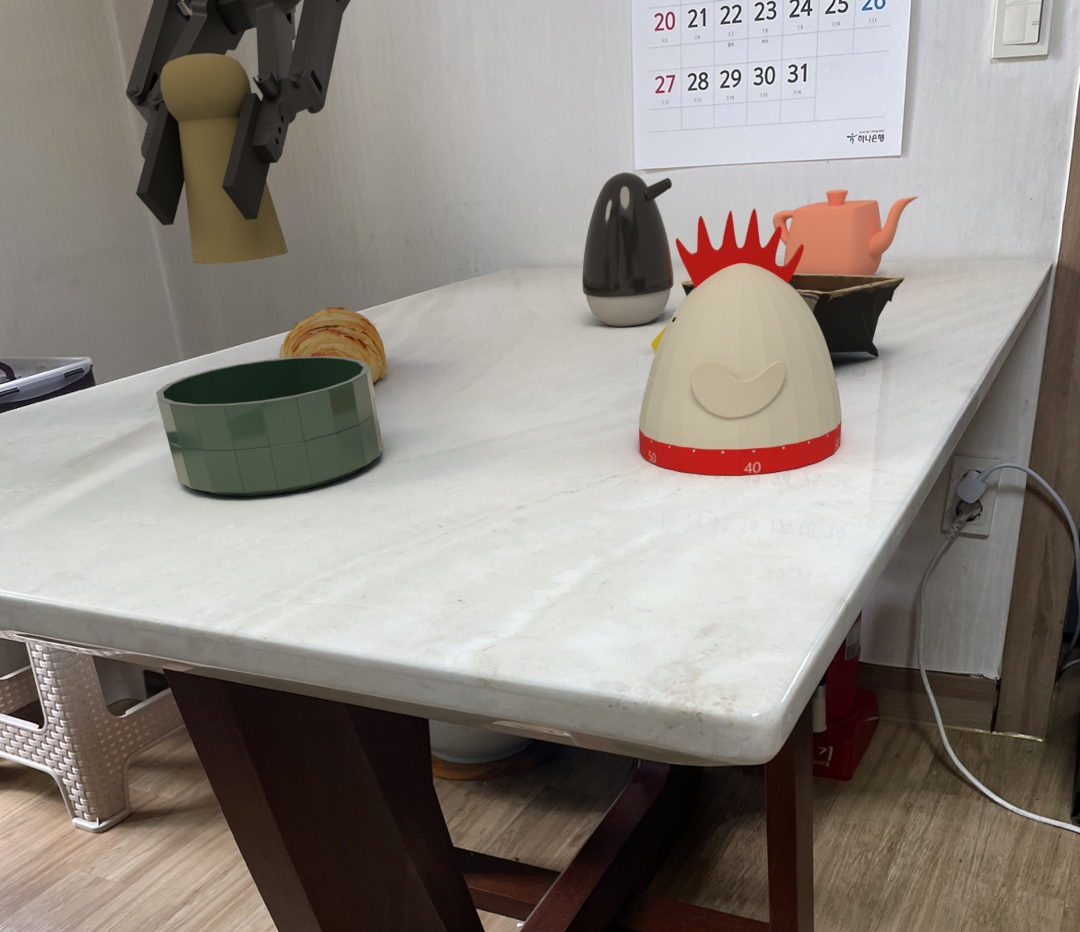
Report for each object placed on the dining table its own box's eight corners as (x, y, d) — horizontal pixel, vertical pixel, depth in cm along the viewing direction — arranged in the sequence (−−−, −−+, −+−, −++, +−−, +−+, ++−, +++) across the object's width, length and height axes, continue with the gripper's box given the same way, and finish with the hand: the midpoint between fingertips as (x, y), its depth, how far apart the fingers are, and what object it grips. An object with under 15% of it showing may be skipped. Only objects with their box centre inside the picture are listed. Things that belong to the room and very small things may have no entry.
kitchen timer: (647, 422, 81) (641, 208, 73) (831, 415, 78) (844, 192, 71) (632, 478, 69) (623, 229, 61) (847, 472, 66) (866, 212, 59)
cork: (173, 264, 66) (125, 60, 61) (244, 250, 71) (205, 59, 65) (237, 263, 63) (192, 49, 58) (307, 249, 67) (272, 48, 62)
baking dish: (776, 360, 105) (762, 254, 100) (930, 350, 91) (921, 227, 86) (671, 400, 98) (652, 289, 94) (819, 397, 84) (804, 266, 80)
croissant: (372, 439, 96) (401, 355, 93) (264, 398, 93) (291, 310, 90) (370, 385, 114) (395, 314, 111) (280, 349, 111) (302, 275, 108)
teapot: (788, 274, 140) (791, 188, 135) (924, 275, 131) (933, 182, 125) (752, 288, 132) (754, 197, 127) (894, 290, 123) (903, 192, 118)
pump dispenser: (657, 331, 113) (654, 173, 105) (570, 330, 117) (561, 179, 109) (688, 313, 120) (687, 165, 113) (605, 314, 125) (598, 171, 117)
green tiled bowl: (138, 499, 74) (112, 407, 70) (245, 440, 86) (227, 358, 83) (328, 502, 70) (310, 404, 66) (413, 439, 82) (401, 354, 79)
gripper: (425, -64, 68) (360, 241, 63) (186, -29, 73) (109, 255, 68) (379, -186, 61) (303, 146, 56) (119, -138, 66) (27, 170, 61)
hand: (196, 205), depth 62 cm, fingers closed on cork, 5 cm apart
